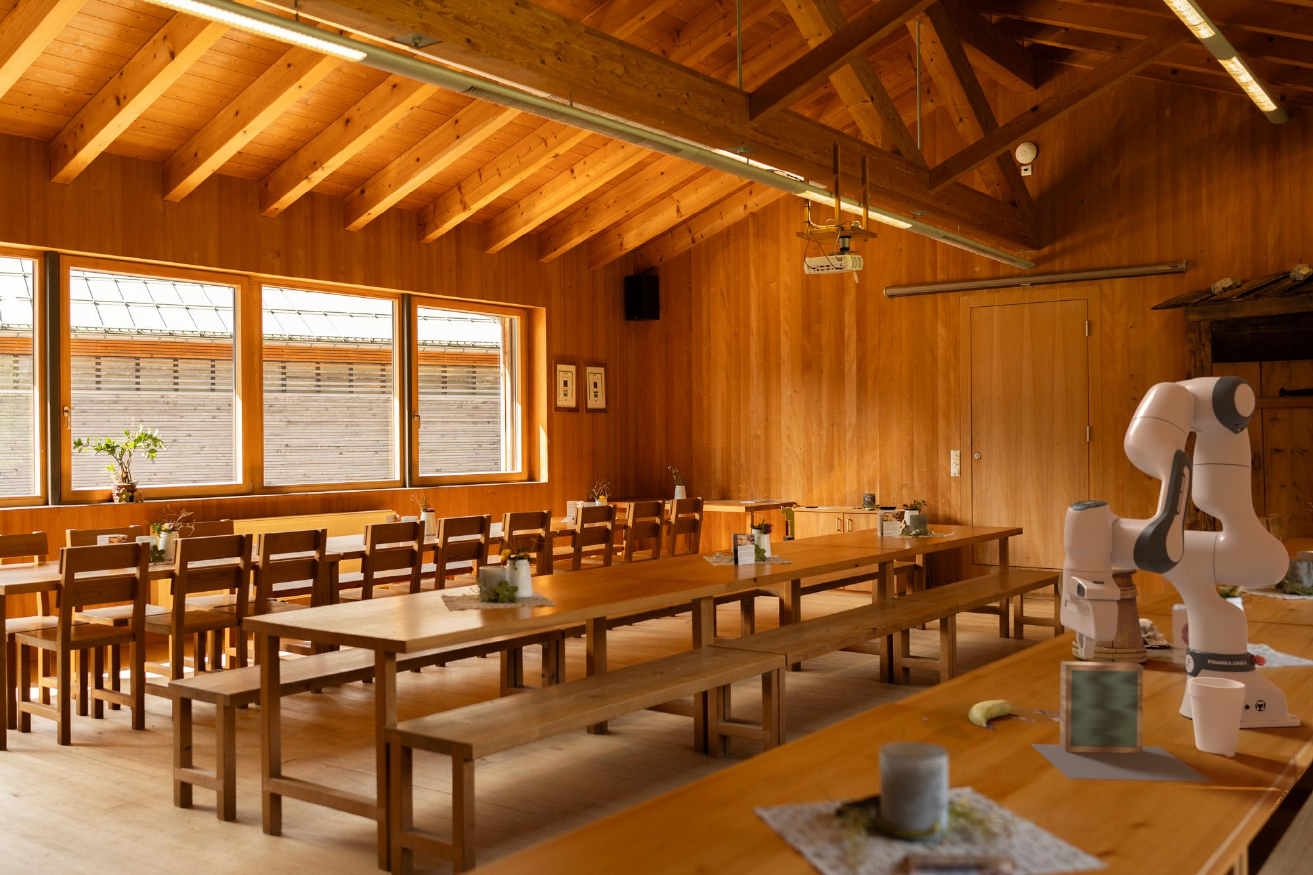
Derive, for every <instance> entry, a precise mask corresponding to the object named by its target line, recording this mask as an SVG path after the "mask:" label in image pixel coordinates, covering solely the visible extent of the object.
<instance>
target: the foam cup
mask: <svg viewBox="0 0 1313 875" xmlns="http://www.w3.org/2000/svg"><path fill="white" fill-rule="evenodd" d="M1188 693H1189V694H1190V702H1191V709H1192V717H1193V719H1192V724H1193V730H1194V731H1193V732H1194V741H1195V746H1196V748H1197V749H1198V750H1199V751H1202V752H1205V753H1209V754H1212V755H1213V754H1214V755H1224V756H1225V757H1228V758H1230V757H1235V755H1236V750H1237V746H1238V745H1237V744H1238V738H1239V731H1240V728H1239V726H1240V720H1241V714H1242V707H1243V701H1244V699H1245V685H1244V684H1243V683H1241V682H1237V681H1234V680H1228V679H1222V678H1212V677H1195V678H1190V679H1189V680H1188Z"/></svg>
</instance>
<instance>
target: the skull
mask: <svg viewBox="0 0 1313 875" xmlns="http://www.w3.org/2000/svg"><path fill="white" fill-rule="evenodd" d="M1139 622H1140V628H1141V634H1142V639H1143V644H1144V645H1150V646H1151V645H1152V646H1166V645H1168V644H1169V645H1170V646H1171V644H1170V643H1169V642H1168V641H1167V639H1165V634H1163V633H1162V632H1161V630H1159V627H1158V626H1157V625H1154V621H1152V620H1150V619H1148V618H1139ZM1166 647H1167V646H1166Z"/></svg>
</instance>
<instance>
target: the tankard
mask: <svg viewBox="0 0 1313 875" xmlns="http://www.w3.org/2000/svg"><path fill="white" fill-rule="evenodd" d="M1137 573H1138V569H1132V568H1122V567H1118V566H1112V578H1113V580H1114V582H1115V584H1116V585H1117V586H1118V587H1119V589H1120V599H1119V600H1115V601H1116V602H1117V605H1118V619H1117V632H1116V636H1115V638H1114V640H1113V641H1097V642H1096V645H1095V647H1094V655H1093V658H1084V657H1083V656H1080V655H1079V646H1078V642H1077V638H1075V639H1074V640H1073V641H1072V647H1071V648H1072V649H1071V653H1072V655H1073V656H1074V658H1076V659H1077V660H1080V661H1083V662H1123V663H1138V664H1140V663H1144V662H1147V661H1148V660H1149V657H1148V651H1147V648H1146V647H1145V646H1144V644H1143V639H1142V634H1141V628H1140V622H1139V619H1140V615H1139V610H1138V609H1139V608H1138V605H1137V597H1138V595H1139V593H1138V589H1137V585H1136V584H1135V583H1134V580H1133V575H1135V574H1137ZM1057 583H1058V585H1057V588H1058V594H1059V597H1060V600H1061V599H1062V593H1063V568H1062V570H1061V571H1060V573H1059V576H1058V582H1057Z"/></svg>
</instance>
